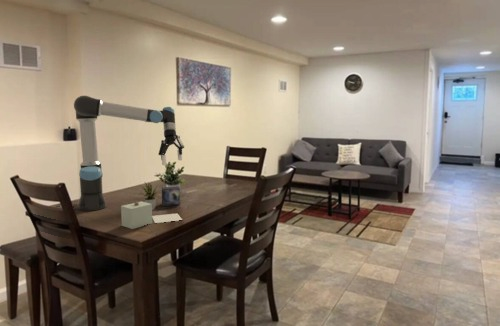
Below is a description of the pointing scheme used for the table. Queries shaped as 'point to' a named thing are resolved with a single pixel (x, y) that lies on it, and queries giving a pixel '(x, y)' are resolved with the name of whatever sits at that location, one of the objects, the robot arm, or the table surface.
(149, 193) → the house plant
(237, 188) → the table surface
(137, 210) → the cover
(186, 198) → the table surface
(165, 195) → the small box
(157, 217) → the mat
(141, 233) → the table surface
